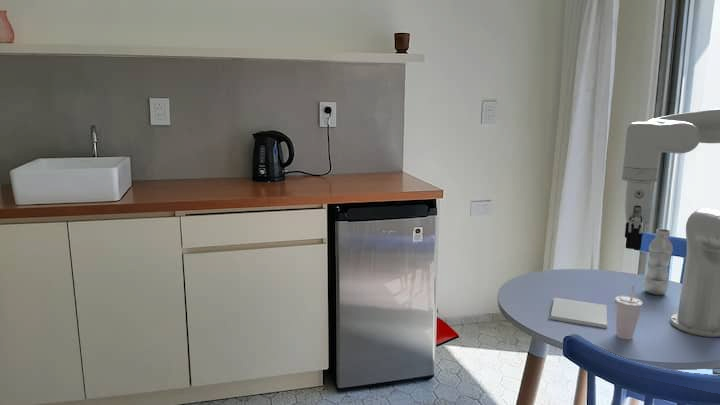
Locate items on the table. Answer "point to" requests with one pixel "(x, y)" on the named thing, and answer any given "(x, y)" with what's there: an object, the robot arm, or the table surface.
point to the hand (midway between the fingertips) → (632, 243)
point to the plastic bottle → (658, 263)
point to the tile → (579, 312)
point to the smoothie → (627, 315)
